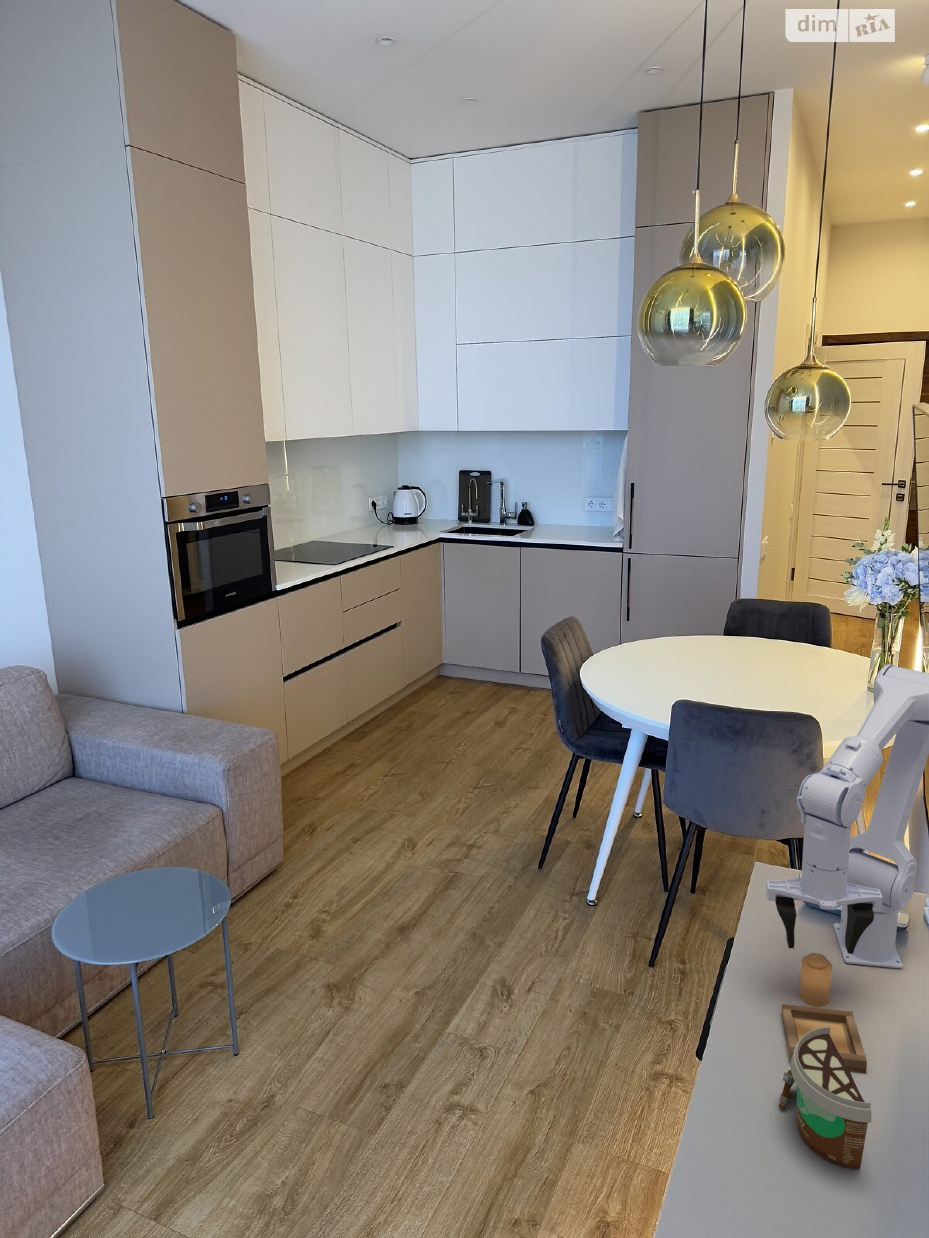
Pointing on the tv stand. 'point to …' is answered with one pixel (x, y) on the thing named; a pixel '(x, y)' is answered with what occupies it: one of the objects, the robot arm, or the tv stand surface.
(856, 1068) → the tray
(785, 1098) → the wooden post with brackets
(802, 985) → the wooden dowel peg
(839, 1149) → the food container
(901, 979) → the tv stand surface
